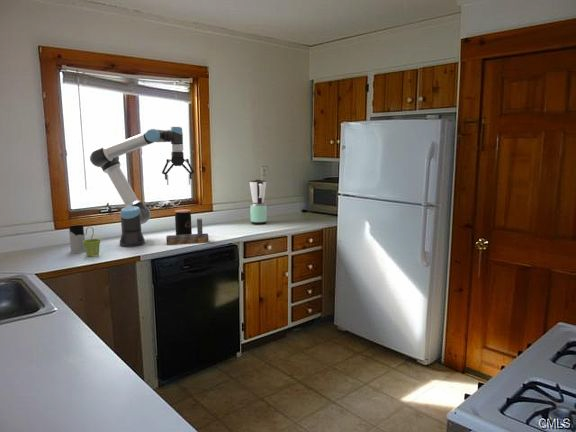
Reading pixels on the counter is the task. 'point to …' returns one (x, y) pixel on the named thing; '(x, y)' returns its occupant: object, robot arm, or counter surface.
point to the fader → (199, 226)
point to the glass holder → (77, 238)
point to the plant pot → (92, 247)
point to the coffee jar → (183, 222)
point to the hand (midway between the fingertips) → (178, 184)
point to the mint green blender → (258, 202)
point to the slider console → (187, 239)
